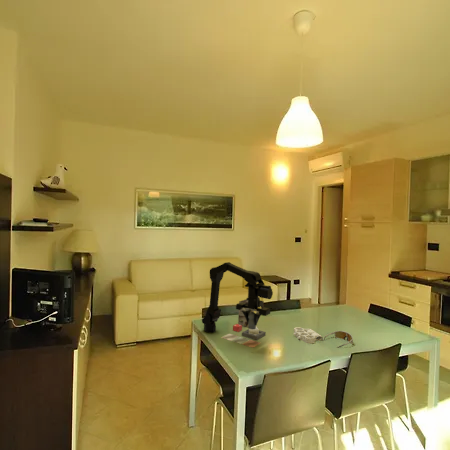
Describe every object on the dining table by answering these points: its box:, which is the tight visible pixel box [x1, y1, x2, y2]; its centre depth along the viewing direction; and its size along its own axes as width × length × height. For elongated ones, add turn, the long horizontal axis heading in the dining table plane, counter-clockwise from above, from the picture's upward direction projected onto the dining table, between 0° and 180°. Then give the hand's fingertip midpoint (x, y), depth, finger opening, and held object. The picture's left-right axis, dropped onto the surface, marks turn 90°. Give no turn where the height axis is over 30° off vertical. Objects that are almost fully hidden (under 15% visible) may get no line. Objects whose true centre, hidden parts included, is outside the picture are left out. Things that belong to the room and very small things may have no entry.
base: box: [241, 328, 266, 341], centre depth 179 cm, size 10×10×3 cm
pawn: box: [248, 311, 257, 329], centre depth 167 cm, size 5×5×9 cm
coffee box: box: [237, 298, 255, 329], centre depth 198 cm, size 9×6×16 cm
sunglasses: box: [322, 330, 354, 349], centre depth 176 cm, size 14×15×5 cm
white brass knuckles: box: [293, 326, 324, 344], centre depth 182 cm, size 3×18×15 cm
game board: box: [220, 333, 261, 348], centre depth 171 cm, size 22×10×1 cm, turn 54°
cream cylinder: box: [248, 326, 260, 335], centre depth 179 cm, size 6×6×6 cm
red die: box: [232, 323, 243, 333], centre depth 187 cm, size 4×4×4 cm
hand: (252, 324), depth 167 cm, fingers closed on pawn, 4 cm apart
